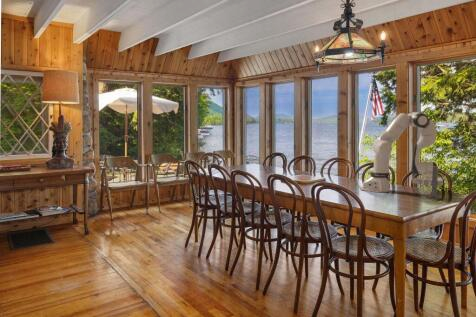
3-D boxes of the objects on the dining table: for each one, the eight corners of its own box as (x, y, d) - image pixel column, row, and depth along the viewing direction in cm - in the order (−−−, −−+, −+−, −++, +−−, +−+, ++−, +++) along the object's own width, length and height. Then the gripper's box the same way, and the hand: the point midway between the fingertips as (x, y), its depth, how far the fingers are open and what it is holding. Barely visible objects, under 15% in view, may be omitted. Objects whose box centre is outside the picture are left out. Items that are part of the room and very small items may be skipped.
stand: (426, 198, 263) (427, 166, 260) (427, 195, 272) (429, 165, 270) (441, 199, 258) (442, 167, 256) (442, 196, 267) (443, 165, 265)
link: (420, 194, 274) (421, 175, 273) (421, 193, 279) (422, 174, 277) (430, 195, 271) (430, 175, 270) (430, 193, 275) (431, 174, 274)
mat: (419, 195, 274) (419, 194, 274) (420, 193, 281) (420, 192, 281) (431, 196, 270) (431, 195, 270) (432, 194, 277) (432, 193, 277)
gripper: (413, 175, 293) (411, 177, 281) (443, 177, 282) (442, 179, 270) (413, 183, 293) (410, 186, 281) (443, 185, 283) (442, 188, 271)
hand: (426, 182), depth 276 cm, fingers open, 8 cm apart
